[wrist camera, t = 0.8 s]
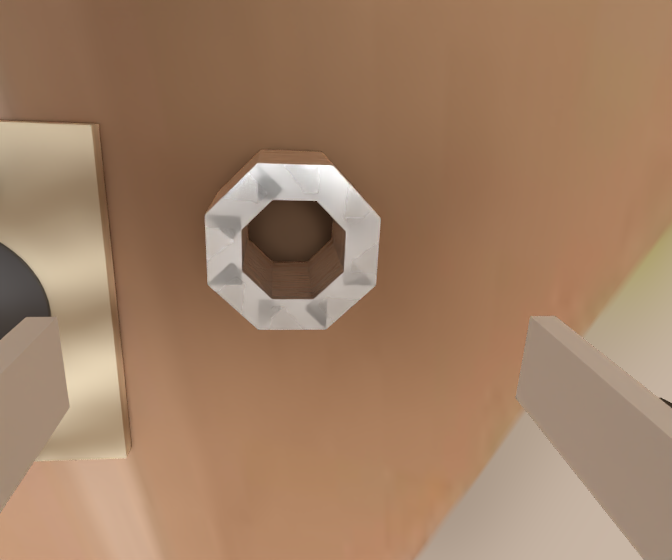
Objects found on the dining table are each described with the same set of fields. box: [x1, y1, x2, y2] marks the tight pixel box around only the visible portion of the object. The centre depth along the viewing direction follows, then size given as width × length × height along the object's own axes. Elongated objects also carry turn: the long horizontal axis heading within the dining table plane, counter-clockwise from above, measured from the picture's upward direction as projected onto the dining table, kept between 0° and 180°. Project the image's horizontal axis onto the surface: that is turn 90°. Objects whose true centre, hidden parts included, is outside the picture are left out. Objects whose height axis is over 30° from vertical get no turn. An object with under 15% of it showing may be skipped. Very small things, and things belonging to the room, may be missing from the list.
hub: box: [205, 149, 381, 330], centre depth 27 cm, size 8×8×6 cm
